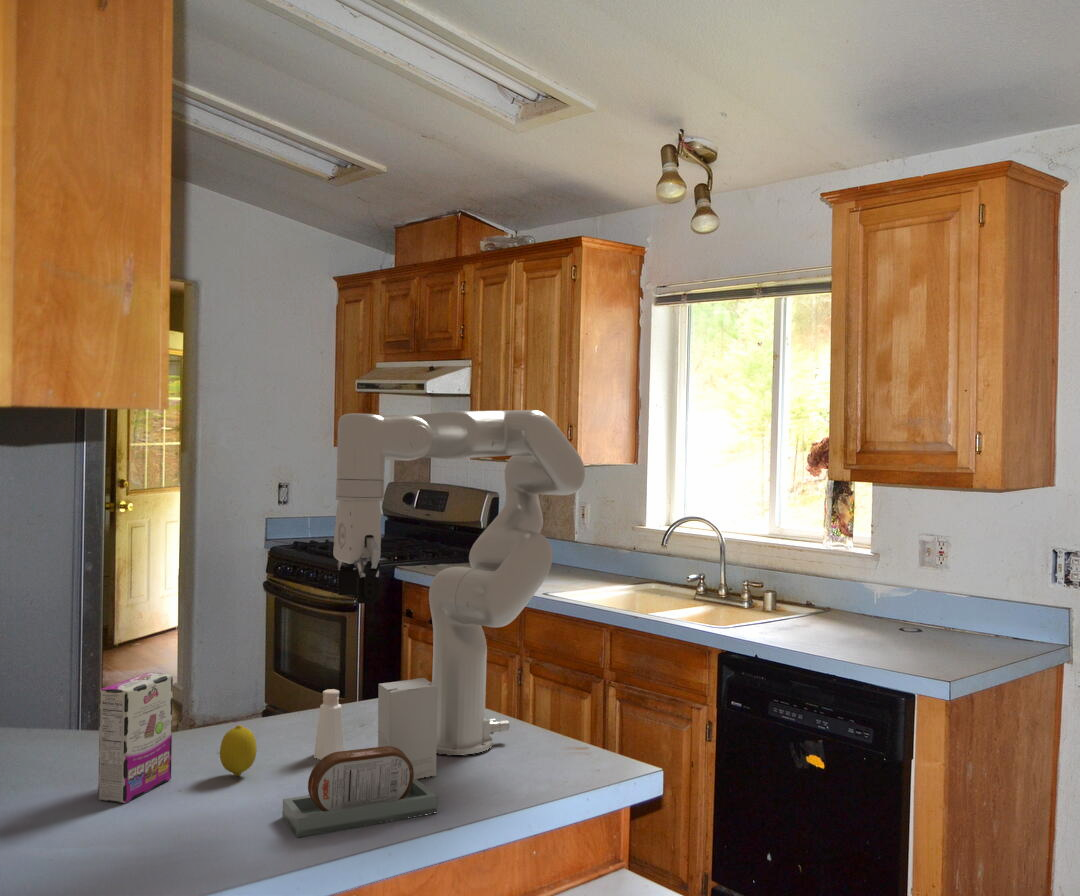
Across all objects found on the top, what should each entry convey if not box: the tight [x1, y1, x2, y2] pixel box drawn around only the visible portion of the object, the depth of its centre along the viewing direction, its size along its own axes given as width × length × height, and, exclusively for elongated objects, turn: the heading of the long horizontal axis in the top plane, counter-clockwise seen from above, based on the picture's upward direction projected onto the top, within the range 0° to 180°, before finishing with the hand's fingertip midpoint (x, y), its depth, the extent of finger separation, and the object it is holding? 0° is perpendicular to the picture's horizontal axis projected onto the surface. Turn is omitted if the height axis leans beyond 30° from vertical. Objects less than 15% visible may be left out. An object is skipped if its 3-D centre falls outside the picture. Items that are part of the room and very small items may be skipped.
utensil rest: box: [281, 779, 438, 838], centre depth 134 cm, size 20×8×2 cm, turn 119°
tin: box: [307, 746, 414, 812], centre depth 134 cm, size 15×3×8 cm, turn 119°
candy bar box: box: [97, 672, 174, 804], centre depth 142 cm, size 11×5×16 cm, turn 167°
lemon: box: [219, 724, 258, 777], centre depth 149 cm, size 6×6×8 cm
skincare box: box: [377, 677, 438, 780], centre depth 151 cm, size 8×6×15 cm
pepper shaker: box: [313, 688, 345, 761], centre depth 160 cm, size 5×5×11 cm
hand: (356, 598), depth 150 cm, fingers open, 9 cm apart
